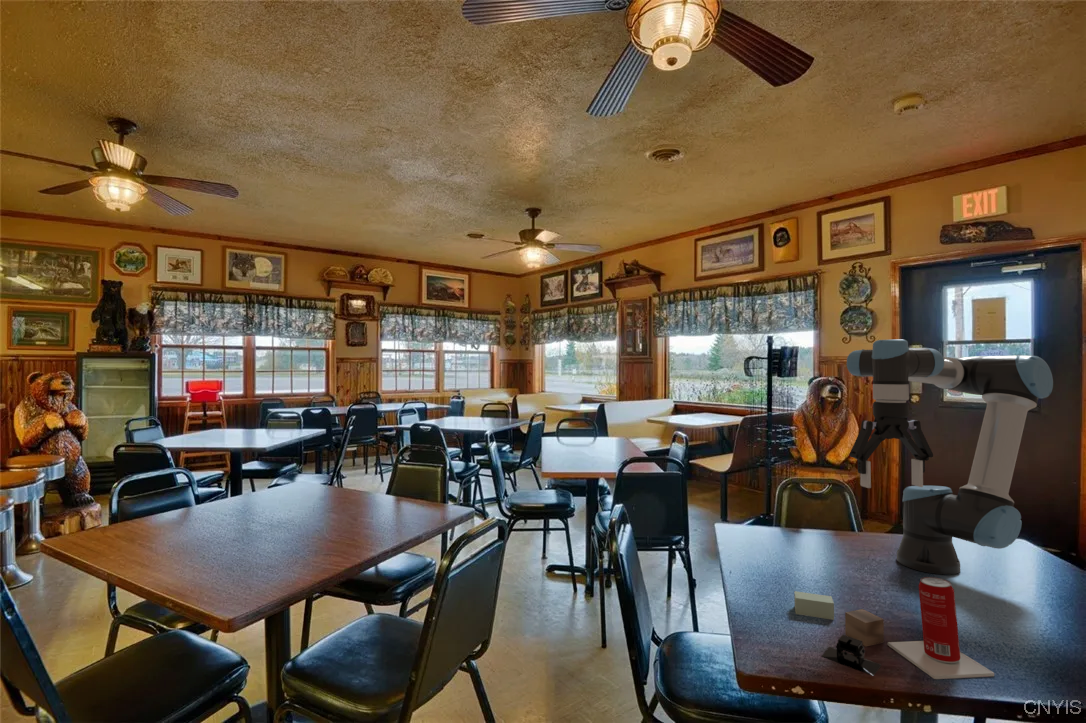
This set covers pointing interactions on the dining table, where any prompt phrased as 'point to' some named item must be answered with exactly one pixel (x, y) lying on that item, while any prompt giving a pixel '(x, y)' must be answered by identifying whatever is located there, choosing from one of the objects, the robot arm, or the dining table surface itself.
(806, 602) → the sage brick
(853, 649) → the black angular piece
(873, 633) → the walnut block
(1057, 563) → the dining table surface
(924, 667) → the tile
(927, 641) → the beverage can
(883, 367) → the robot arm
